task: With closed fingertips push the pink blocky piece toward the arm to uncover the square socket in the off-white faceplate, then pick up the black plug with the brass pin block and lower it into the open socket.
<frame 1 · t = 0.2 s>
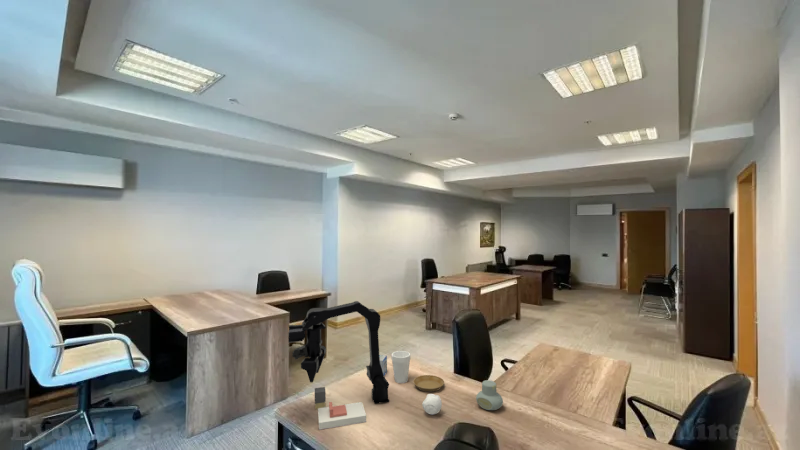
hand: (314, 377, 140), 14 cm above the table, fingers open, 9 cm apart
plant saucer: (428, 387, 161), on the table
medicine box: (381, 374, 175), on the table
crumpled paper ball: (432, 413, 137), on the table
air freshener: (489, 407, 141), on the table
plug: (320, 406, 143), on the table
socket plate: (341, 418, 134), on the table
pink blocky piece: (337, 408, 134), point 4 cm above the table, slide at 0.0 cm
foam cup: (401, 380, 168), on the table
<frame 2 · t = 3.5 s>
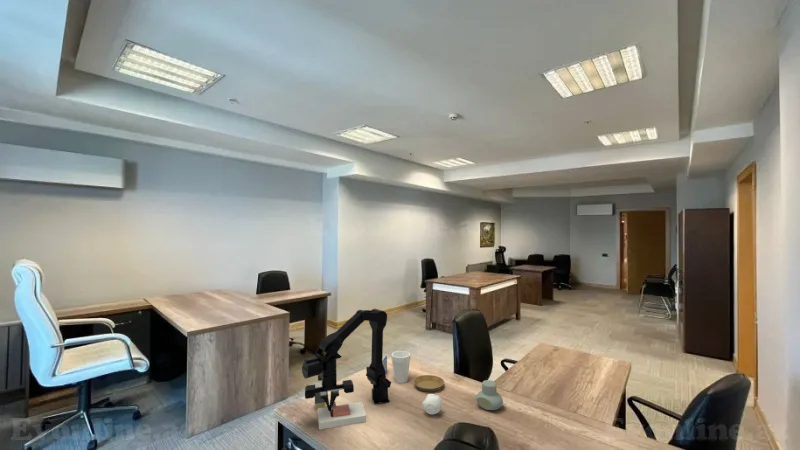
hand: (329, 410, 133), 4 cm above the table, fingers closed
pink blocky piece: (341, 407, 134), point 4 cm above the table, slide at 1.3 cm, touching gripper
everything else where it was.
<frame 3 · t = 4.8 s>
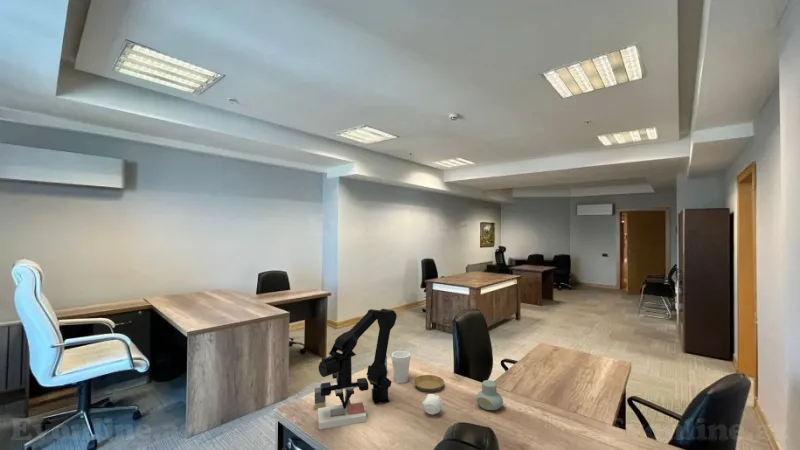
hand: (344, 408, 134), 4 cm above the table, fingers closed
pink blocky piece: (355, 405, 136), point 4 cm above the table, slide at 7.2 cm, touching gripper
everything else where it was.
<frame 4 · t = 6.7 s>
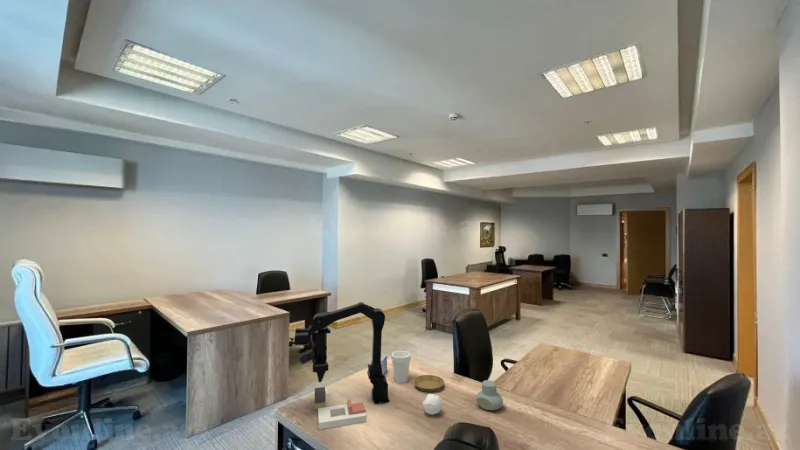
hand: (319, 380, 144), 11 cm above the table, fingers open, 3 cm apart
pink blocky piece: (356, 405, 136), point 4 cm above the table, slide at 7.4 cm
everything else where it was.
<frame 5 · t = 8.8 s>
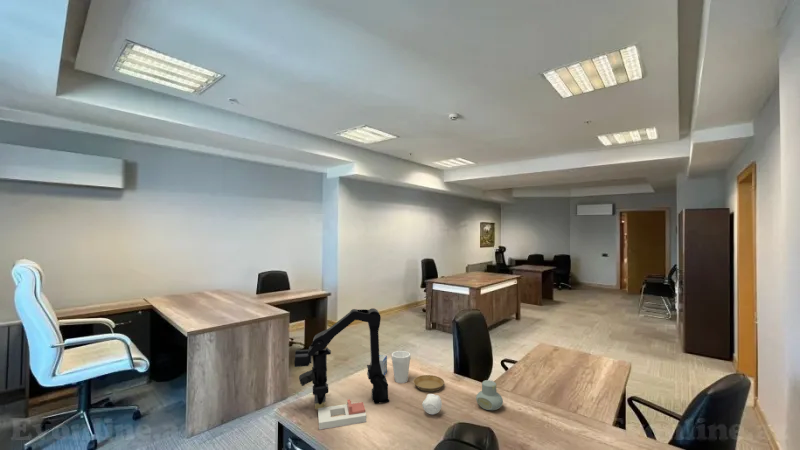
hand: (320, 401, 144), 2 cm above the table, fingers closed on plug, 4 cm apart
plug: (320, 406, 143), on the table, touching gripper
everything else where it was.
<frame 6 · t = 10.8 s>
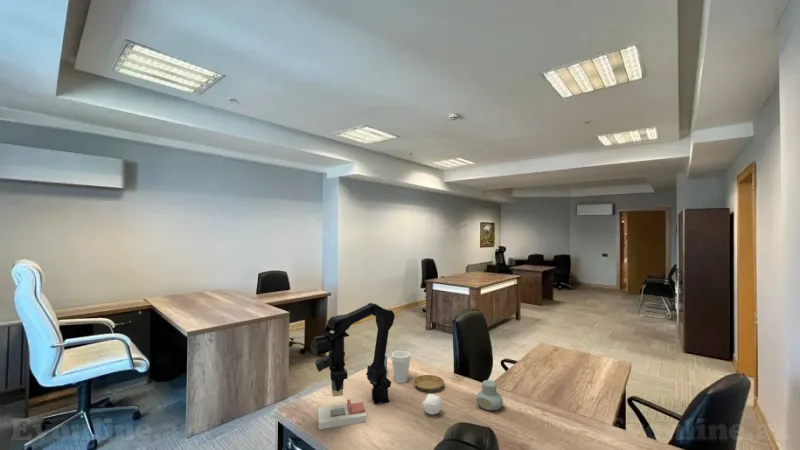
hand: (337, 388, 134), 12 cm above the table, fingers closed on plug, 4 cm apart
plug: (337, 393, 134), point 10 cm above the table, touching gripper
everything else where it was.
when the fingers open (3 cm above the table, at t = 13.0 s): plug drops 1 cm, resting in socket plate.
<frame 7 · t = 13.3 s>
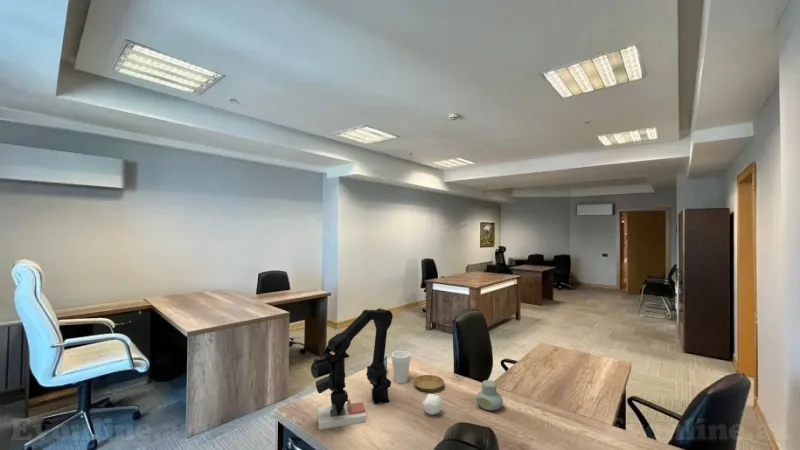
hand: (337, 409, 134), 3 cm above the table, fingers open, 7 cm apart
plug: (337, 418, 134), resting in socket plate
everything else where it was.
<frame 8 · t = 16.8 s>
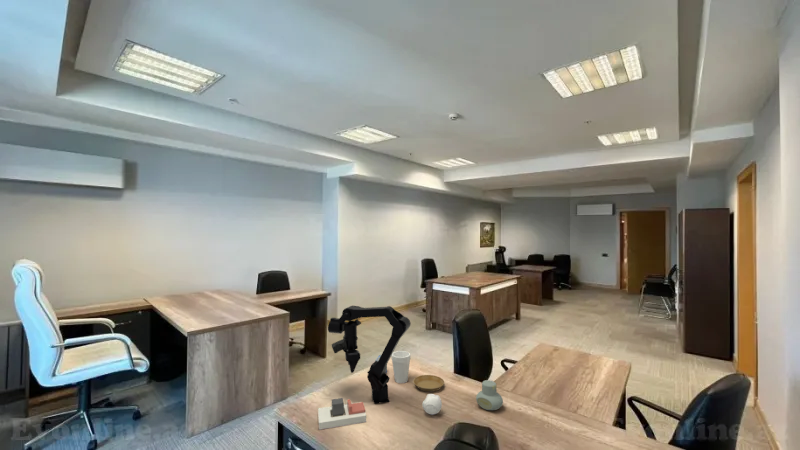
hand: (350, 368, 153), 12 cm above the table, fingers open, 9 cm apart
nothing on the table moved.
at the end: plug 0.0 cm from the target spot on the socket plate, point 0.0 cm above the socket plate's base; plug tilted 0°; pink blocky piece slide at 7.4 cm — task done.
